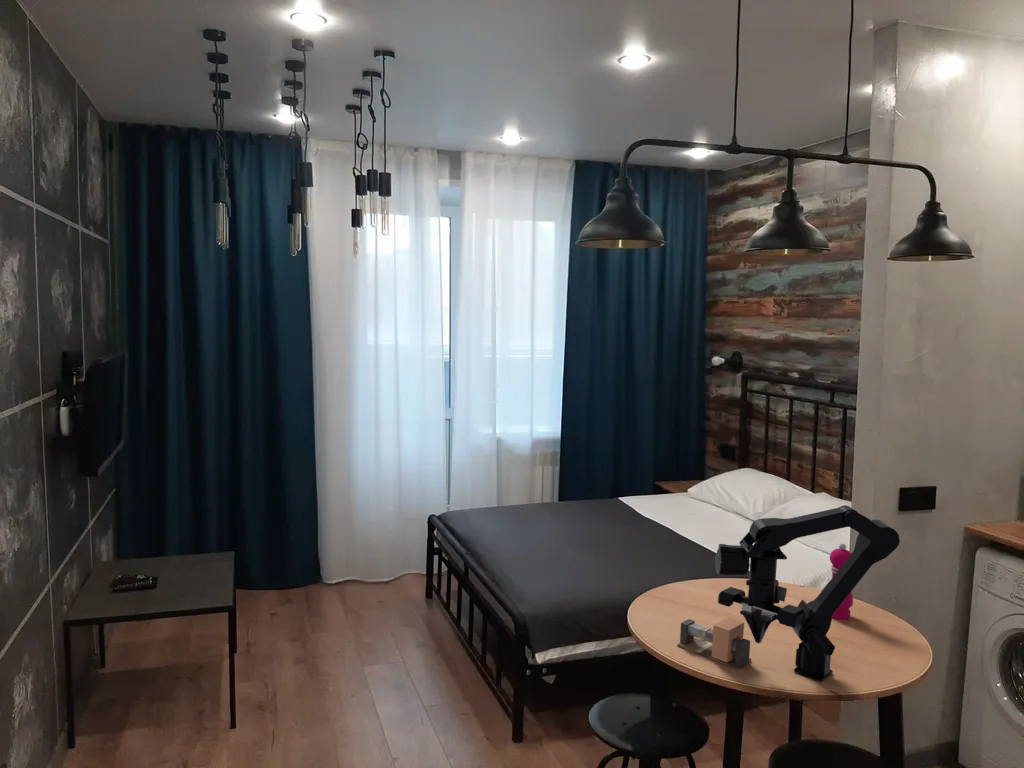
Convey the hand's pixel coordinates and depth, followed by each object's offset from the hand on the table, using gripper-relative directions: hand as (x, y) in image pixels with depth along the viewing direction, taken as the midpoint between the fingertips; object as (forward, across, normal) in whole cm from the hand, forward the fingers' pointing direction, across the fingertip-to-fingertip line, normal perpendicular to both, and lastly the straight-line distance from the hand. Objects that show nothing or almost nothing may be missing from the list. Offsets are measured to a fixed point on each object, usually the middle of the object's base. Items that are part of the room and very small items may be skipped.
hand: (758, 642), depth 176 cm
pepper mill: (+7, 0, -46) cm, 47 cm away
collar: (+6, +8, 0) cm, 10 cm away
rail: (+6, +11, 0) cm, 13 cm away
